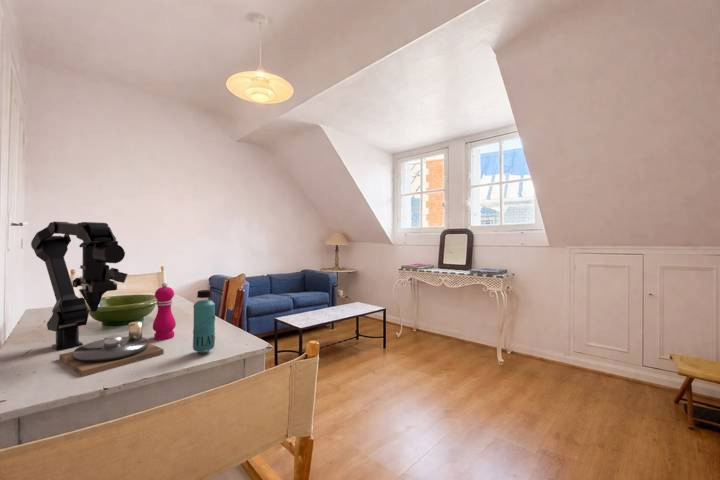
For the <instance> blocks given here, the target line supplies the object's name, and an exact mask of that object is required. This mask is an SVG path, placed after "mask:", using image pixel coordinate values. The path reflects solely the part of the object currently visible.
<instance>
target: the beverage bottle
mask: <svg viewBox="0 0 720 480" xmlns="http://www.w3.org/2000/svg"><path fill="white" fill-rule="evenodd" d="M196 296H197V297H196V298H198V299H200V300H197V301H196V302H194V304H193V330H192V349H193V351H194V352H199V353H200V352H207V351H210V350H213V349H214V348H215V345H216V344H215V342H216V327H215V326H216V325H215V324H216V310H215V308H216V307H215V306H216V303H215V302H214V301H213V300H212V299H208V298H212V290H211V289H201V290H198V291H197V295H196ZM206 298H207V299H206Z"/></svg>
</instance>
